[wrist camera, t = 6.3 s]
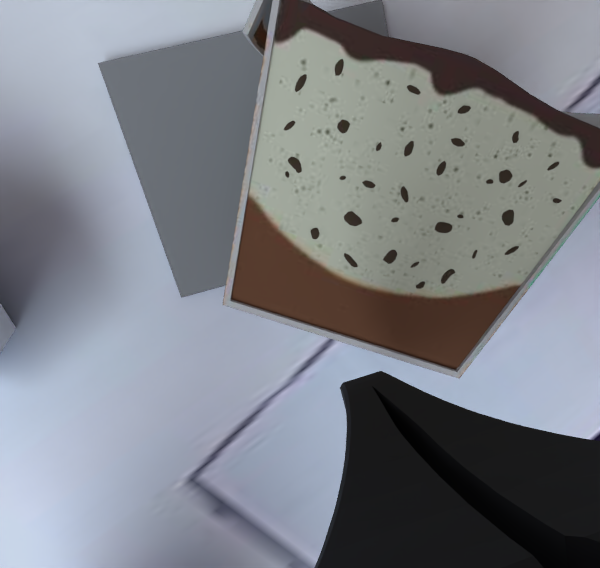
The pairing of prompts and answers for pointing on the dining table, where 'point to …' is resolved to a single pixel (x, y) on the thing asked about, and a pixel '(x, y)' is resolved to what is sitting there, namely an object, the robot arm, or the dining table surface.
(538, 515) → the robot arm
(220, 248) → the mat
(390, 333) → the food container
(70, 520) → the dining table surface
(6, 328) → the die
